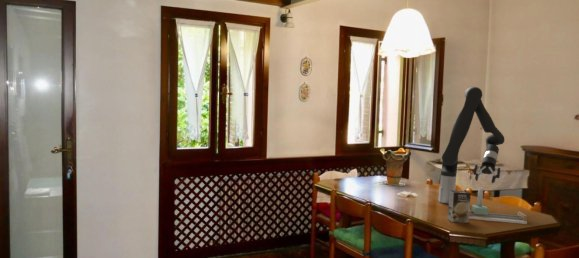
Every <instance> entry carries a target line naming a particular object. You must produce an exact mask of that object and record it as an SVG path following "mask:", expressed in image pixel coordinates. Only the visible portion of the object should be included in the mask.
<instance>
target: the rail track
mask: <svg viewBox="0 0 579 258" xmlns="http://www.w3.org/2000/svg"><path fill="white" fill-rule="evenodd" d="M527 217H528V216H527V215H526V214H525V213H523V212H522V211H519V210H518V211H517V215H516V214H505V213H495V212H494V213H493V212H488V215H483V214H474V213H473V212H472V209H470V208H469V219H468V220H478V221H488V222H500V223H510V224H511V223H512V224H523V225H527V224H528V221H527V219H528V218H527Z"/></svg>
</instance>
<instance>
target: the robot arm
mask: <svg viewBox="0 0 579 258" xmlns="http://www.w3.org/2000/svg"><path fill="white" fill-rule="evenodd" d="M482 97H483V91H482V89H481V88H480V87H477V86H470V87H468V88H466V90H465V92H464V98H465V100H464V105H463V106H462V109H461V110H460V112H459V113H458V115H457V117H456V119H455V121H454V124H453V127H452V130H451V133H450V137H449V139H448V141H449V142H448V144H447V146H446V148H445V150H444V152H443V153H442V155H441V161H442V163H441V171H440V183H439V187H438V198H437V199H438V200H437V201H438V202H439V203H442V204H448V205H449V196H450V190H456V187H457V186H456V183H457V174H458V173H457V172H458V162H459V152H460V149H461V146H462V144H463V142H464V141H465V139H466V137H467V135H468V133H469V130H470V128H471V125H472V121H473V119H474V116H475V114H476V117H477V119H478V122H479V124H480V125H481V128H482V130H483V132H484V133H490V135H487V137H486V138H485V146H486V147H485V148H486V149H485V153H484V155H483V157H482V162H481V165H478V164H475V165H474V168H473V175H474V176H475V177H474V180H475V181H476V182H478V181H479V177H480V175H481V176H482V175H483V174H484V175H491V176H492V178H491V184H494V183H495V182H496V179H500V177H501V168H500V167H498V168H497V167H496V166H497V162H498V157H499V151H500V149H499V147H498V146H500V145H503V144H505V143H504V142H505V136H504V135H503V133H502V132H501V131H500V130H499V129H498V128H497V126H496V125H495V122H494V120H493V119H492V117H491V115H490V113H489V112H488V110H487V109H486V107H485V105H484V103H483V100H482ZM495 172H496V173H495Z"/></svg>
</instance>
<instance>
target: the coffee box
mask: <svg viewBox="0 0 579 258" xmlns="http://www.w3.org/2000/svg"><path fill="white" fill-rule="evenodd" d="M471 194H472V193H470V192H469V191H467V190H456V189H455V190H450V196H449V204H448V209H447V217H446V220H449V221H450V222H451V223H463V224H464V223H466V224H467V223H468V224H469V220H470V219H469V209H470V206H471Z"/></svg>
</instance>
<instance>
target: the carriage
mask: <svg viewBox="0 0 579 258" xmlns="http://www.w3.org/2000/svg"><path fill="white" fill-rule="evenodd" d="M483 198H484V188H482V187H478V189H477V199H476V200H477V203H476V204H471V211H472V212H473V213H474V214H483V215H488V213H489V207H487V206H486V205H483Z"/></svg>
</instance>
